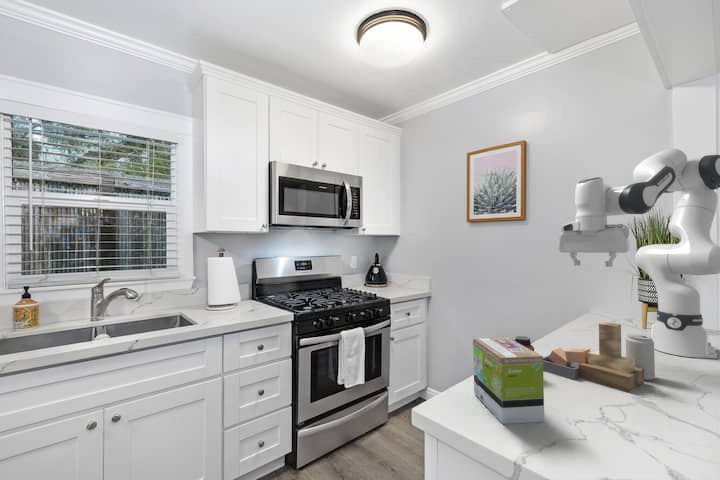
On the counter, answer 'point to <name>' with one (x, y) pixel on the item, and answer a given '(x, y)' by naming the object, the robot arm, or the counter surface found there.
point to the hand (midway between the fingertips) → (592, 266)
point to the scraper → (610, 349)
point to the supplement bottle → (524, 342)
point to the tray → (561, 369)
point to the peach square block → (559, 357)
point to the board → (612, 377)
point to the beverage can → (641, 353)
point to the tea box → (509, 380)
